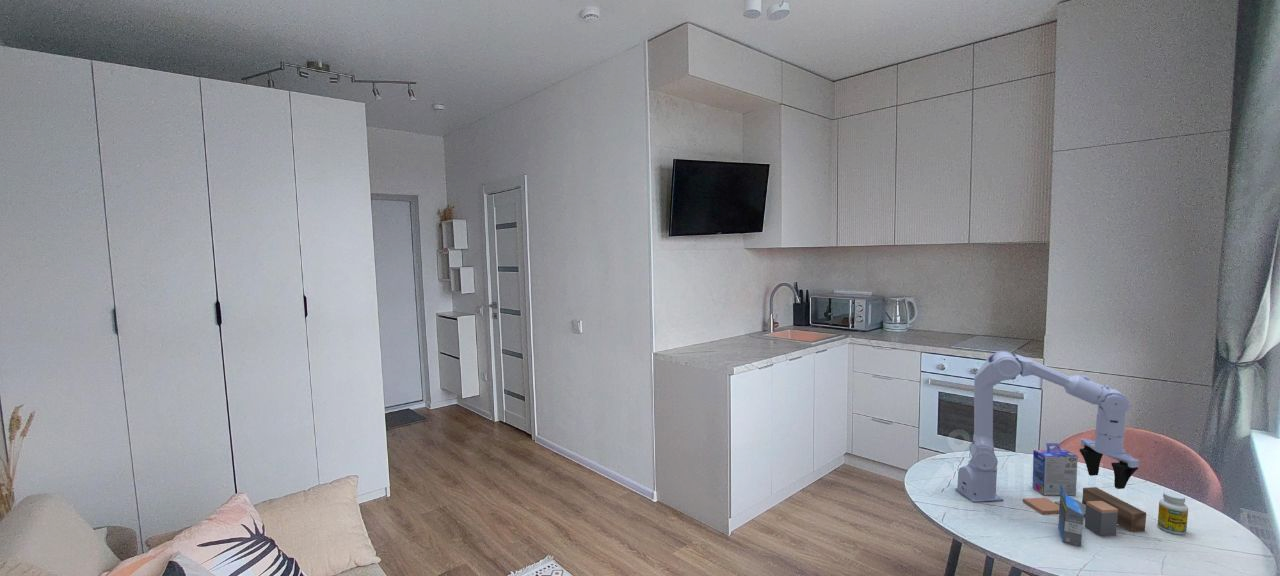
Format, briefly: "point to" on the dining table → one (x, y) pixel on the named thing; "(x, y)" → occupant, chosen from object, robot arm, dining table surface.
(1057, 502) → the slate pad
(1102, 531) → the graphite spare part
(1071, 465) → the ink cartridge box
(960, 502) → the dining table surface
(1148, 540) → the dining table surface
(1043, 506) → the terracotta pad
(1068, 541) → the label tape cartridge
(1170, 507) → the supplement bottle
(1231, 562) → the dining table surface
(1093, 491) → the block
